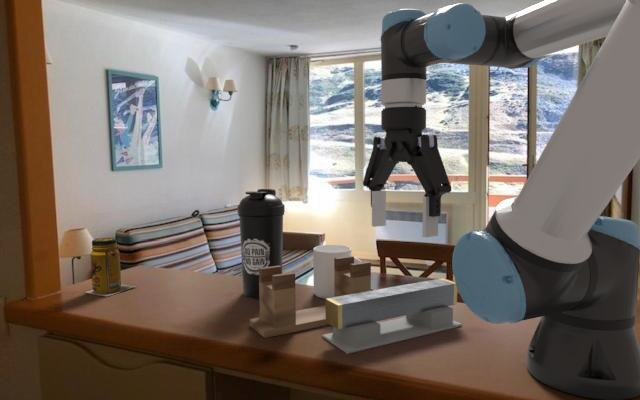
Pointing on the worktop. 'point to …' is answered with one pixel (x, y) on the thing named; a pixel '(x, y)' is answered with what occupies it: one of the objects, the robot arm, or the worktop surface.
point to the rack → (281, 297)
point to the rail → (389, 302)
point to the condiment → (106, 268)
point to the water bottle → (260, 236)
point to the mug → (327, 268)
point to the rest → (392, 330)
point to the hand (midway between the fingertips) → (402, 230)
